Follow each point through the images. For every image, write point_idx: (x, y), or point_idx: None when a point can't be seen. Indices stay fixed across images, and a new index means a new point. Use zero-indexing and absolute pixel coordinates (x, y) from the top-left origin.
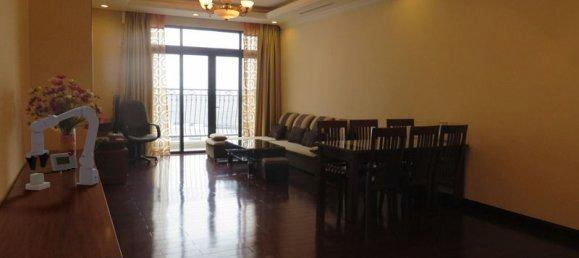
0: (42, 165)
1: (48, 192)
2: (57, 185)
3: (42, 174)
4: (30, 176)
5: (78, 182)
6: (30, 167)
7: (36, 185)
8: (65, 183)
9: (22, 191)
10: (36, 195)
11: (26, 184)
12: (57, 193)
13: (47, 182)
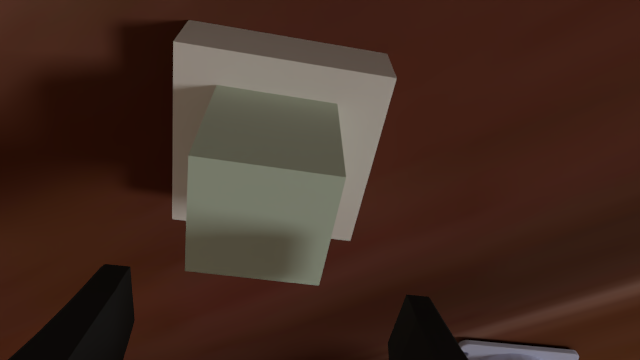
0: (403, 356)
1: (138, 281)
2: (416, 237)
3: (291, 276)
4: (193, 147)
5: (497, 349)
6: (72, 310)
7: (173, 186)
8: (506, 261)
9: (72, 48)
10: (4, 248)
11: (175, 53)
12: (135, 341)
13: (338, 223)
